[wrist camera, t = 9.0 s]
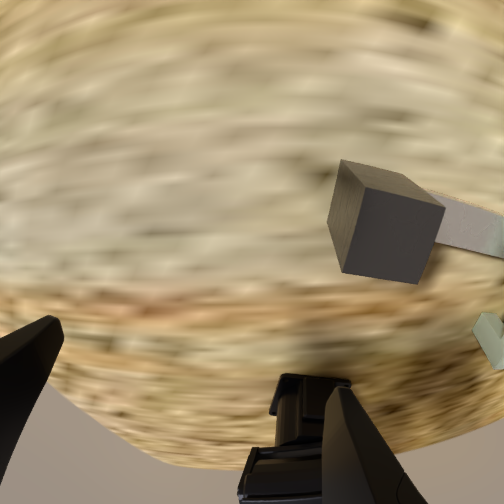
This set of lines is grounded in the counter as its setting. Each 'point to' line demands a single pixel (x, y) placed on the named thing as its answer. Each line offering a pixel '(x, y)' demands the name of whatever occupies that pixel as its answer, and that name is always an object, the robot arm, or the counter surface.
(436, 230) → the grey hammer
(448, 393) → the counter surface
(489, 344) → the bracket
